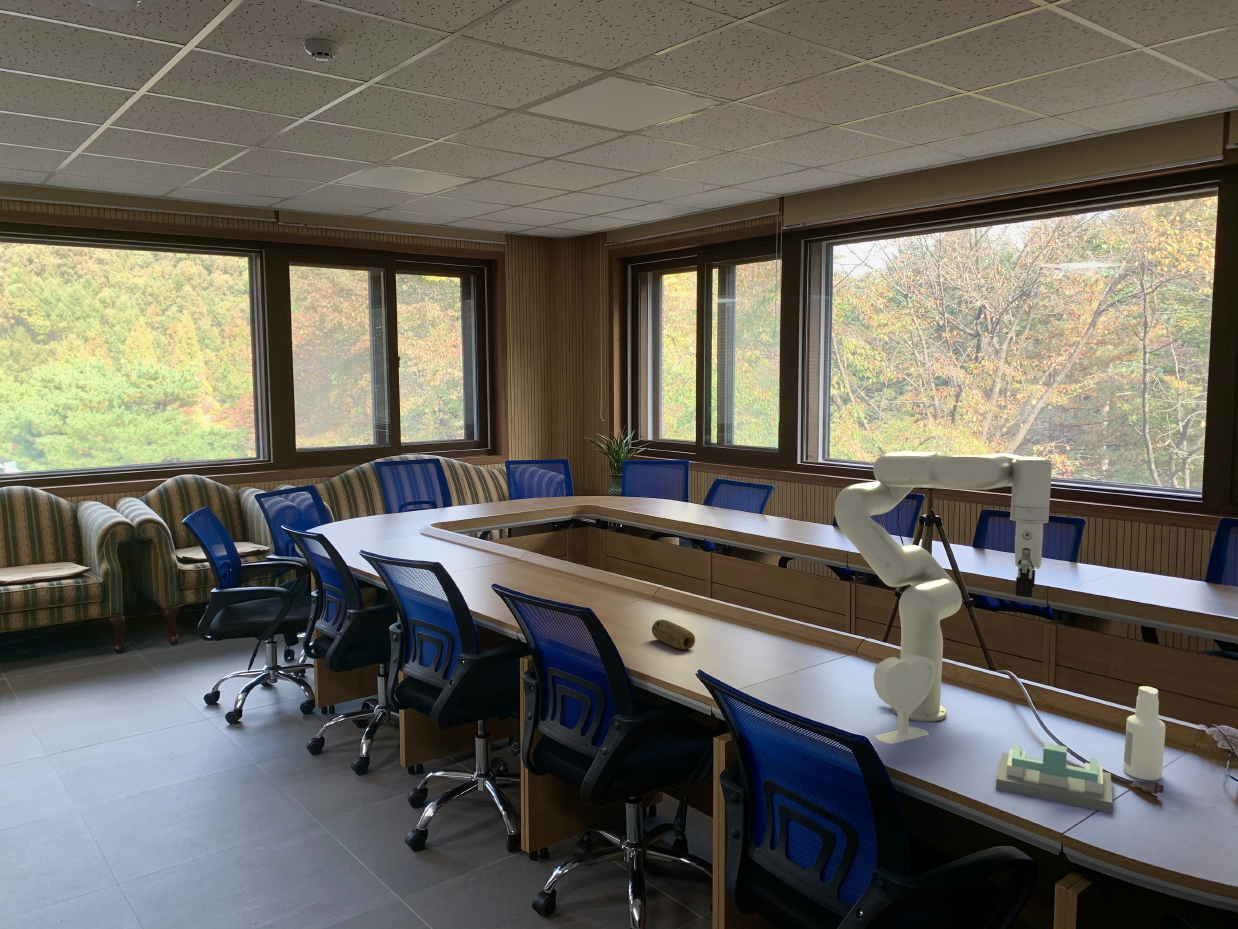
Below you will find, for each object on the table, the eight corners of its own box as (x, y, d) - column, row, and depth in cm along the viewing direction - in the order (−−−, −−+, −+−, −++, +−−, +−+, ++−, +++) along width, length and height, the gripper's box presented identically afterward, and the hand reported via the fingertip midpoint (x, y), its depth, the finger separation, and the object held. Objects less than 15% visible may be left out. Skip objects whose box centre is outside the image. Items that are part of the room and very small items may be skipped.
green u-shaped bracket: (1011, 767, 174) (1012, 742, 173) (1014, 749, 182) (1016, 726, 182) (1097, 784, 167) (1099, 758, 166) (1096, 764, 175) (1098, 740, 175)
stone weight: (647, 641, 267) (647, 620, 266) (664, 637, 271) (665, 616, 271) (681, 654, 255) (681, 631, 255) (698, 649, 260) (699, 627, 259)
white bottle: (1147, 766, 184) (1154, 683, 182) (1169, 781, 177) (1176, 695, 176) (1116, 766, 184) (1122, 683, 182) (1136, 781, 177) (1142, 695, 175)
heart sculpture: (884, 745, 193) (888, 666, 191) (868, 737, 198) (871, 659, 196) (935, 733, 200) (939, 656, 198) (918, 725, 205) (922, 649, 203)
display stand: (995, 788, 173) (996, 769, 173) (1001, 761, 186) (1002, 743, 185) (1111, 813, 164) (1113, 792, 164) (1109, 782, 176) (1111, 763, 176)
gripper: (1047, 521, 181) (1042, 602, 182) (1050, 510, 196) (1045, 585, 198) (1007, 518, 184) (1002, 598, 186) (1013, 507, 199) (1009, 581, 201)
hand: (1024, 591), depth 192 cm, fingers open, 9 cm apart
